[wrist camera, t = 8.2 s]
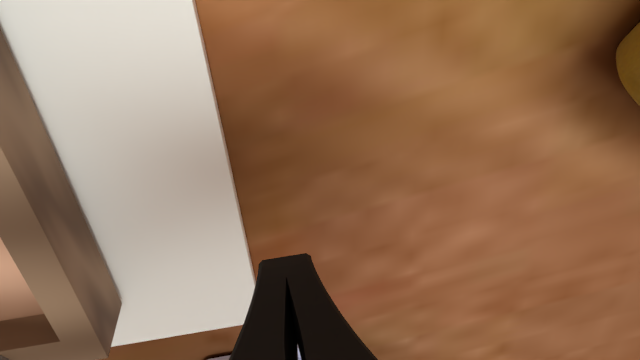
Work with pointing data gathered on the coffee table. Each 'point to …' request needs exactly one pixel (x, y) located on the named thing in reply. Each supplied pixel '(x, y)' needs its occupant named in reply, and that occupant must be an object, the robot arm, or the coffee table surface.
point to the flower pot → (630, 63)
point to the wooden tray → (45, 244)
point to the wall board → (140, 154)
